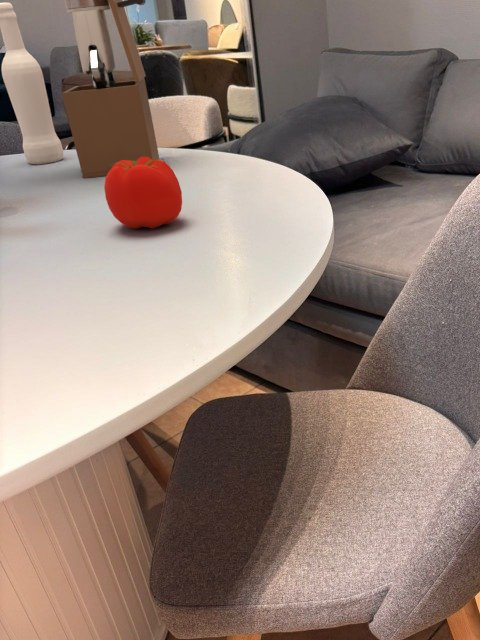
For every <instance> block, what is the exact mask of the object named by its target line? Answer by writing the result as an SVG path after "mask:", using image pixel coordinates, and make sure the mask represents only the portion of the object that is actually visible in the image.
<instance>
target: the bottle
mask: <svg viewBox="0 0 480 640" xmlns="http://www.w3.org/2000/svg"><path fill="white" fill-rule="evenodd" d="M17 18H18V16H17V13H16V12H15V10H14V6H13V4H12V3H10V2H0V32H1V36H2V39H3V40H2V41H3V44H4V47H5V48H4V49H5V54H4V57H3V59H2V61H1V70H0V71H1V76H2V79H3V83H4V85H5V88H6V92H7V94H8V97H9V100H10V102H11V105H12V108H13V111H14V114H15V117H16V120H17V123H18V125H19V129H20V132H21V135H22V150H23V153H24V157H25V158H26V161H27V162H28V163H29V164H30V165H45V164H52V163H57V162H60V161H62V160H63V159H64V149H63V145H62V142H61V140H60V138H59V137H58V135H57V133H56V130H55V126H54V122H53V118H52V112H51V107H50V103H49V97H48V93H47V92H48V91H47V89H46V84H45V79H44V73H43V70H42V68H41V66H40V63H39V62H38V61H37V59H36V58H34V56H33V55H32V54H31V53H29V52H28V50H27V49H26V46H25V44H24V40H23V36H22V33H21V30H20V26H19V24H18V19H17Z"/></svg>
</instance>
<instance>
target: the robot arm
mask: <svg viewBox="0 0 480 640" xmlns="http://www.w3.org/2000/svg"><path fill="white" fill-rule="evenodd" d="M63 1H64V4H65V9H66V13H67V14H71V15H72V22H73V29H74V34H75V38H76V39H75V40H76V45H77V50H78V55H79V61H80V65H81V69H82V70H81V71H82V73H83V74H84V75H86V76H88V75H91V79H92V85H94V89H102V88H110V84H109V81H114V85H115V87H117V86H116V82H117V81H116V78H115V74H114V70H115V68H116V63H115V57H114V51H113V45H112V41H111V36H110V31H109V26H108V21H107V17H106V13H105V11H108V10H111V7H110V4H109V1H108V0H63Z"/></svg>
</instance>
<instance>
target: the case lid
mask: <svg viewBox="0 0 480 640" xmlns="http://www.w3.org/2000/svg"><path fill="white" fill-rule="evenodd" d="M108 1H109V6H110V11H111V13H112V16H113V19H114V22H115V25H116V28H117V31H118V35H119V37H120V40H121V44H122V47H123V49H124V53H125V55H126V58H127V61H128V64H129V67H130V70H131V74H132V76H133V80H135V83H137V82H140V81H141V80H142V79H145V77H146V76H147V75H146V71H145V69H144V65H143V63H142V59H141V56H140V53H139V50H138V47H137V43H136V40H135V37H134V34H133V31H132V28H131V24H130V21H129V17H128V15H127V12H126V9H125V8H126V7H129V6H133V5H139V6H144V5H145V4H146V1H147V0H108Z"/></svg>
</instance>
